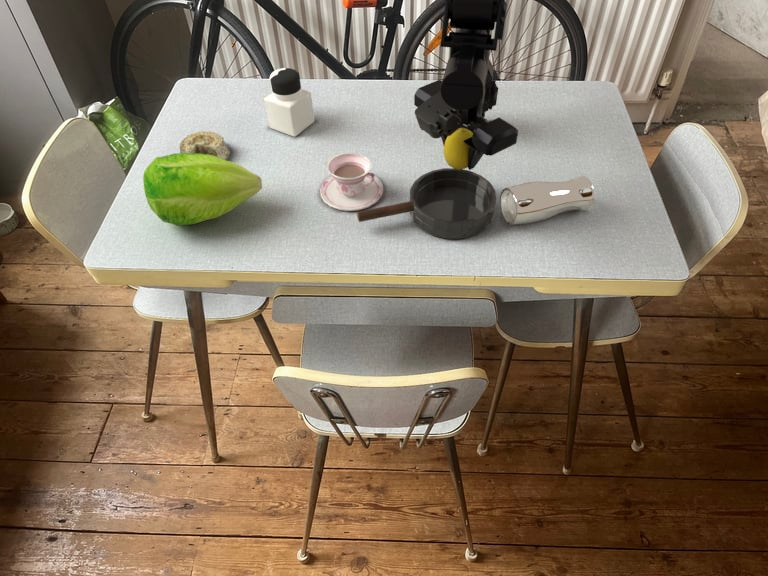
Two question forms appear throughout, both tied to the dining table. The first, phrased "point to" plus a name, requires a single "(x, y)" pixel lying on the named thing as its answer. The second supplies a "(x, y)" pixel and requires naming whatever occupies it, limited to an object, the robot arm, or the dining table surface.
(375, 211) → the pan handle
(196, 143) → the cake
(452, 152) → the lemon
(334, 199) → the teacup
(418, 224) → the pan
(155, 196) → the lettuce
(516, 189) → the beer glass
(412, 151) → the dining table surface
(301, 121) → the medicine bottle
